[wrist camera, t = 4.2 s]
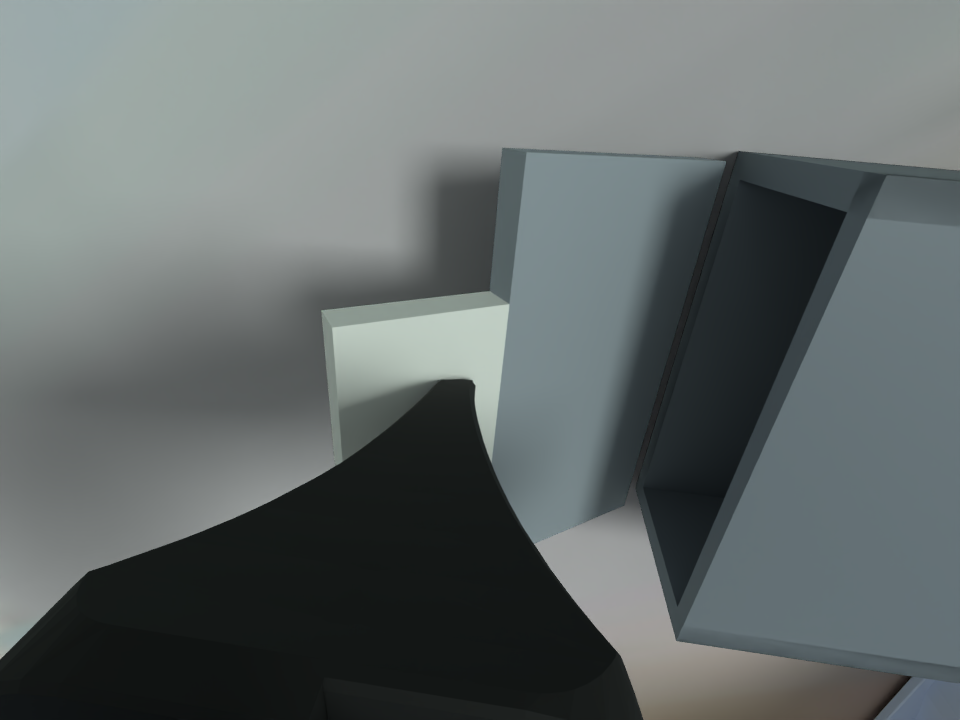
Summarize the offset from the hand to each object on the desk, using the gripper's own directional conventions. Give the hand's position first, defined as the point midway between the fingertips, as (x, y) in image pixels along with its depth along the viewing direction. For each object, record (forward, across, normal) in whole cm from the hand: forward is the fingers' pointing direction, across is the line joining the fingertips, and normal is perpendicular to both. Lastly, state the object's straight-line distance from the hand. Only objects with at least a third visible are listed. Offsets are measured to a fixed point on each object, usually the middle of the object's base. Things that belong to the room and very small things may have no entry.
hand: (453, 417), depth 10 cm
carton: (+5, -10, 0) cm, 12 cm away
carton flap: (+4, -5, 0) cm, 7 cm away
